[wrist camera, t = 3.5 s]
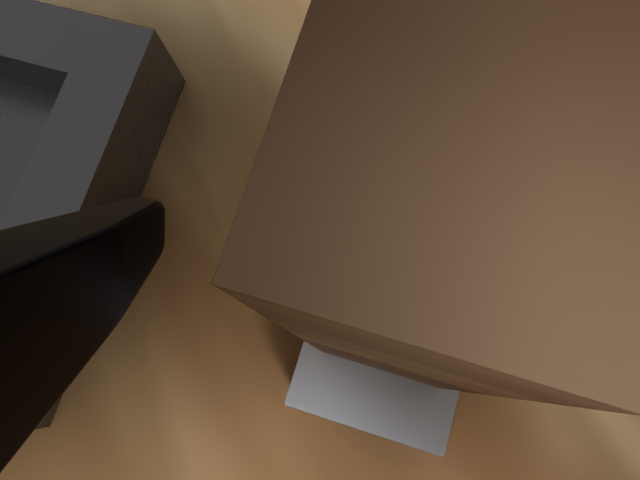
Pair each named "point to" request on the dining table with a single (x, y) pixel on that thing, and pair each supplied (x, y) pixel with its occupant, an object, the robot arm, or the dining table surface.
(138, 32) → the holder block
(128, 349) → the dining table surface
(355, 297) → the slot cleaner tool
